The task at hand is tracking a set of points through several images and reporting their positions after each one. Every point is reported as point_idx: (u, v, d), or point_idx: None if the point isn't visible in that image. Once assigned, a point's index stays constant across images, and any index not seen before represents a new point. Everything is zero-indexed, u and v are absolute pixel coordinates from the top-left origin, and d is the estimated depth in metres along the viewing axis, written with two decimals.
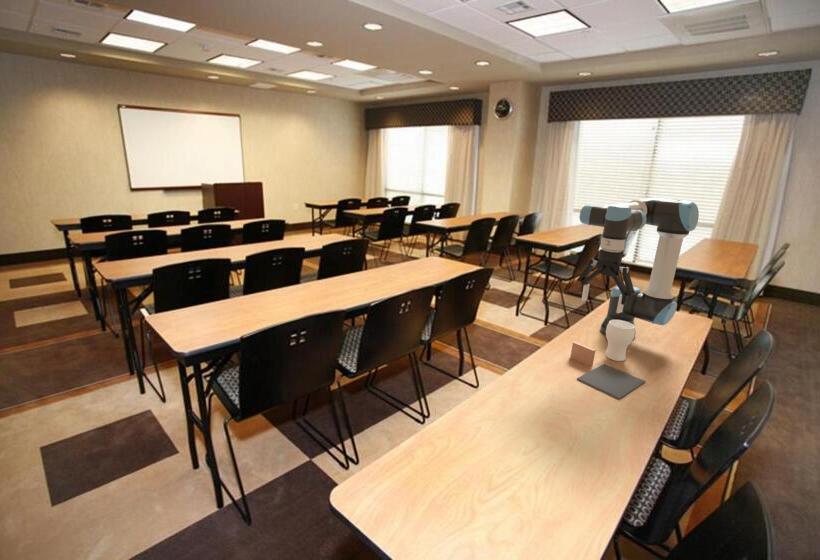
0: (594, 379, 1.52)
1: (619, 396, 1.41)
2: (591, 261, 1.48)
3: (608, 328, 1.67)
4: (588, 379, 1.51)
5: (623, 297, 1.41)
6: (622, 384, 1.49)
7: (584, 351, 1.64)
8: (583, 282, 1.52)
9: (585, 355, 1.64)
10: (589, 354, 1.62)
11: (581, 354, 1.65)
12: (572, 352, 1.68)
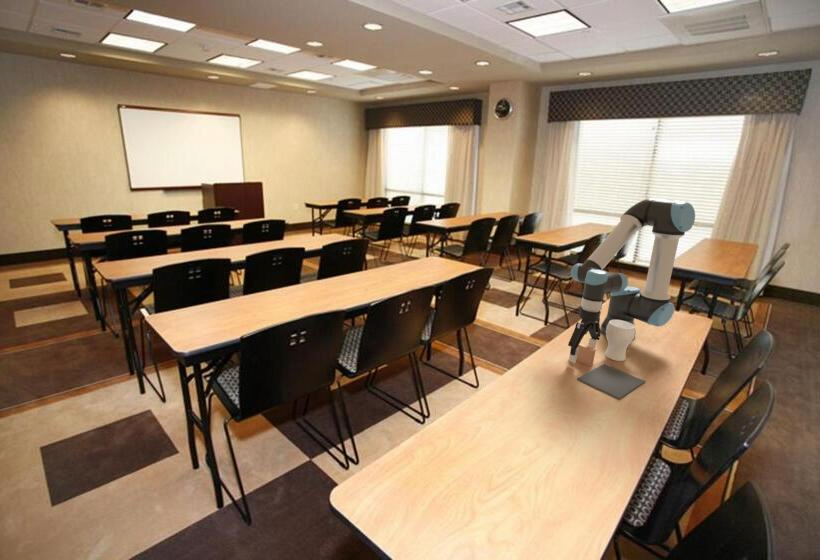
0: (594, 379, 1.52)
1: (619, 396, 1.41)
2: None
3: (608, 328, 1.67)
4: (588, 379, 1.51)
5: None
6: (622, 384, 1.49)
7: (584, 351, 1.64)
8: None
9: (585, 355, 1.64)
10: (589, 354, 1.62)
11: (581, 354, 1.65)
12: None
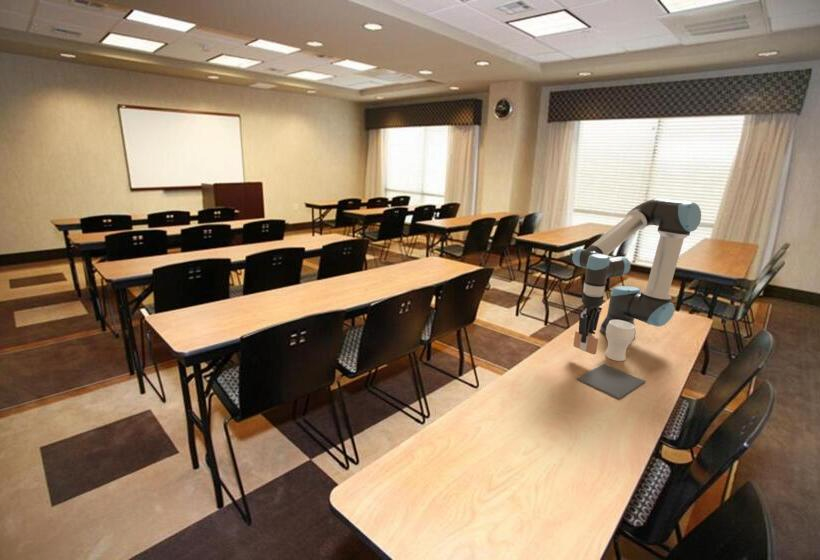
0: (594, 379, 1.52)
1: (619, 396, 1.41)
2: None
3: (608, 328, 1.67)
4: (588, 379, 1.51)
5: None
6: (622, 384, 1.49)
7: None
8: None
9: (588, 343, 1.62)
10: (592, 342, 1.61)
11: None
12: (575, 341, 1.67)
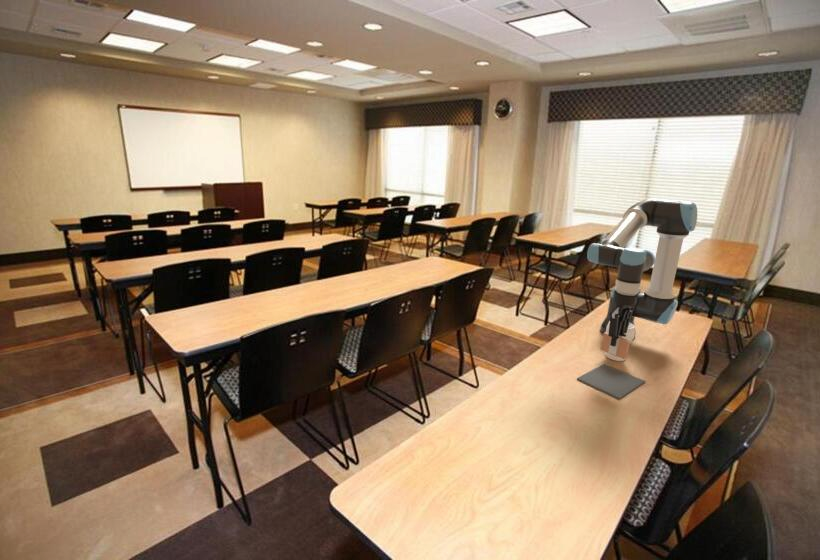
0: (594, 379, 1.52)
1: (619, 396, 1.41)
2: None
3: (608, 328, 1.67)
4: (588, 379, 1.51)
5: None
6: (622, 384, 1.49)
7: None
8: None
9: (618, 347, 1.47)
10: (623, 346, 1.46)
11: None
12: (603, 344, 1.52)
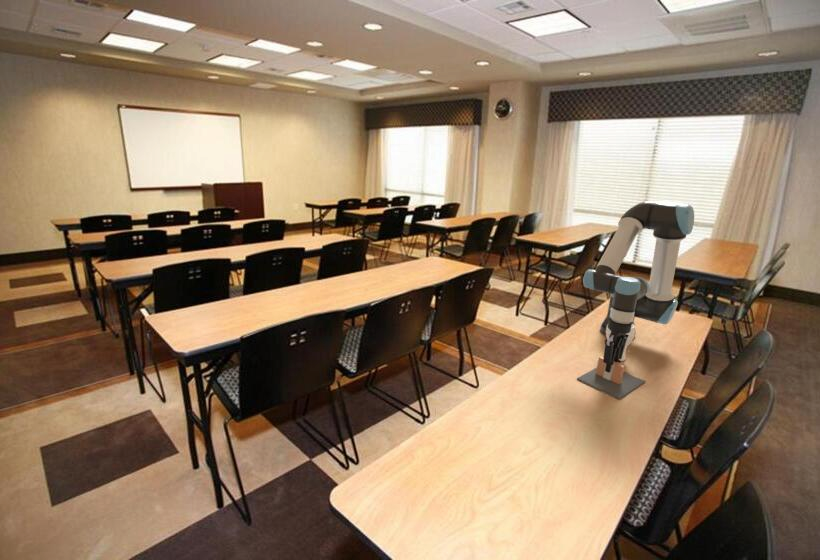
0: (594, 379, 1.52)
1: (619, 396, 1.41)
2: None
3: None
4: (588, 379, 1.51)
5: None
6: (622, 384, 1.49)
7: None
8: None
9: (613, 372, 1.50)
10: (618, 371, 1.48)
11: None
12: (598, 368, 1.54)
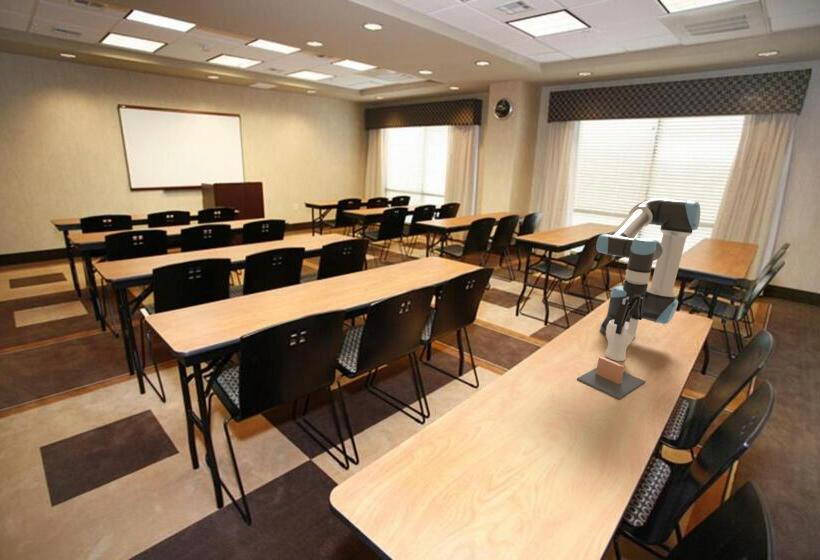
0: (594, 379, 1.52)
1: (619, 396, 1.41)
2: None
3: (608, 328, 1.67)
4: (588, 379, 1.51)
5: None
6: (622, 384, 1.49)
7: (612, 368, 1.50)
8: None
9: (613, 372, 1.50)
10: (617, 371, 1.48)
11: (608, 370, 1.51)
12: (598, 368, 1.54)
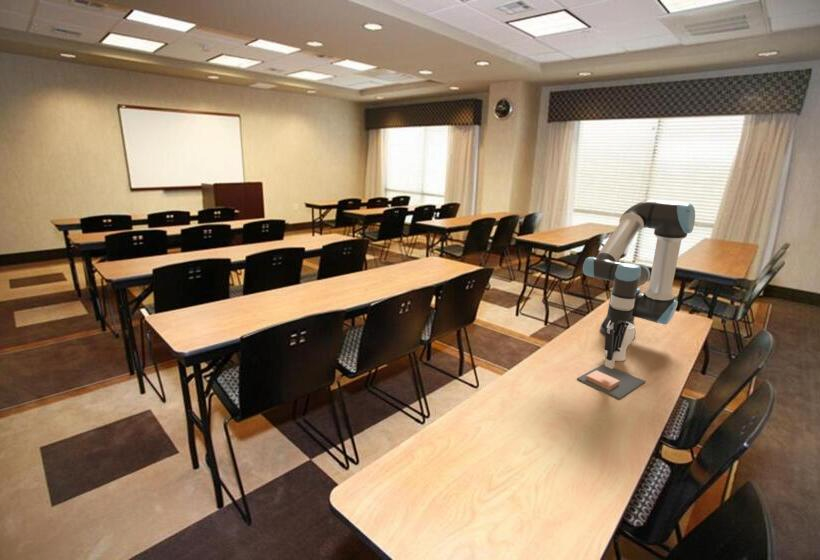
0: None
1: (619, 396, 1.41)
2: None
3: None
4: None
5: None
6: (622, 384, 1.49)
7: None
8: None
9: None
10: None
11: None
12: None
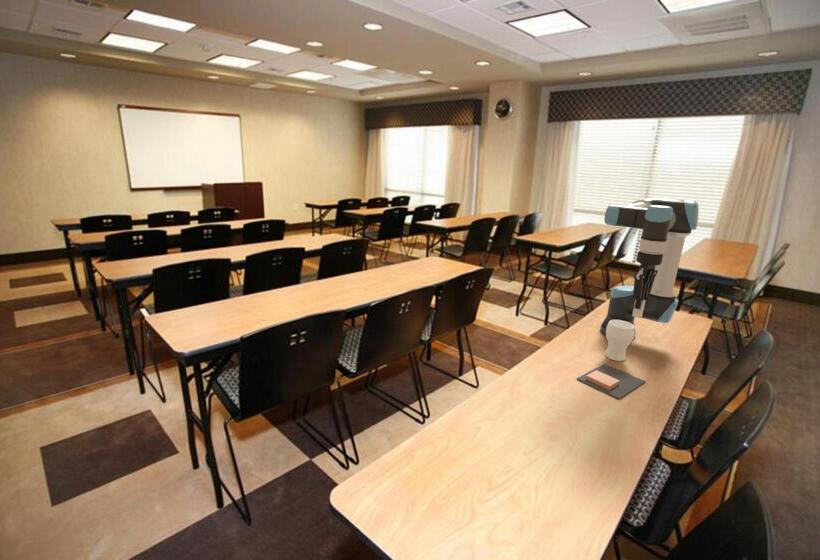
0: None
1: (619, 396, 1.41)
2: None
3: (608, 328, 1.67)
4: None
5: None
6: (622, 384, 1.49)
7: None
8: None
9: None
10: None
11: None
12: None
